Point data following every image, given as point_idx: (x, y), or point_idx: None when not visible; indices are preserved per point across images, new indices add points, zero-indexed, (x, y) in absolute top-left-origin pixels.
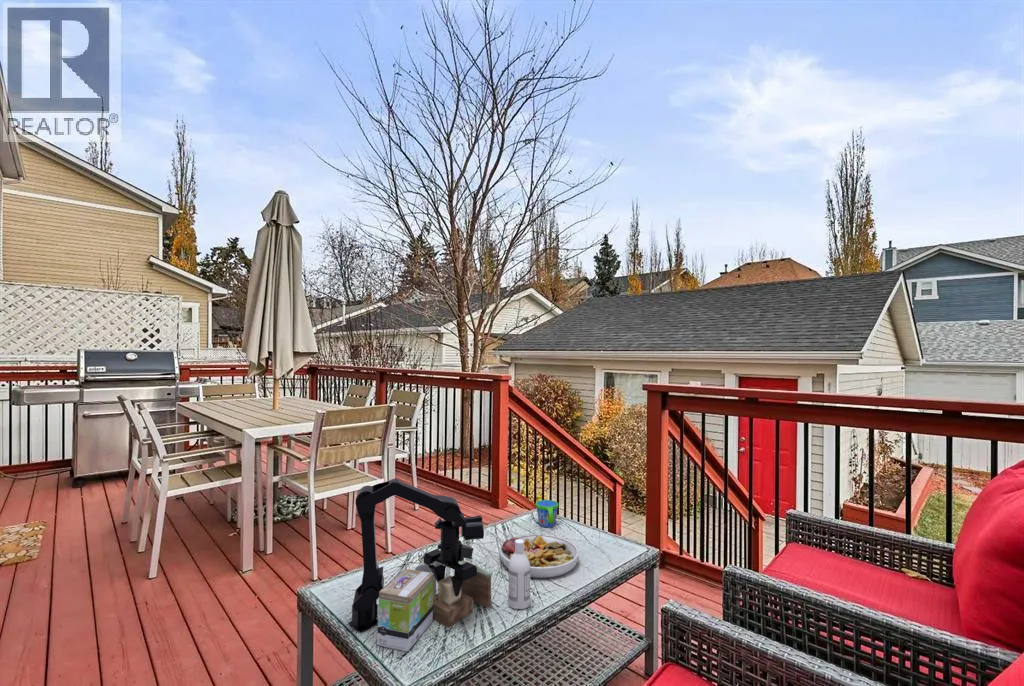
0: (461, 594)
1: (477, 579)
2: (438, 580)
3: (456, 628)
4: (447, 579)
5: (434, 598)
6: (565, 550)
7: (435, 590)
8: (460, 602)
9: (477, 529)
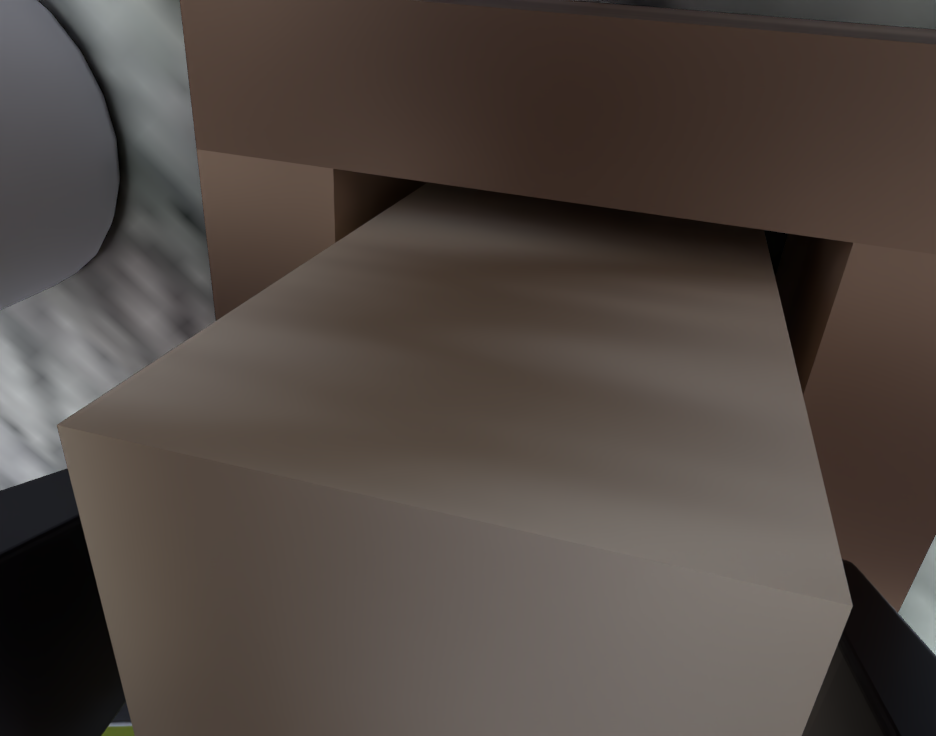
0: (672, 120)
1: None
2: (95, 732)
3: (931, 543)
4: (253, 704)
5: None
6: None
7: (4, 71)
8: (878, 438)
9: None
